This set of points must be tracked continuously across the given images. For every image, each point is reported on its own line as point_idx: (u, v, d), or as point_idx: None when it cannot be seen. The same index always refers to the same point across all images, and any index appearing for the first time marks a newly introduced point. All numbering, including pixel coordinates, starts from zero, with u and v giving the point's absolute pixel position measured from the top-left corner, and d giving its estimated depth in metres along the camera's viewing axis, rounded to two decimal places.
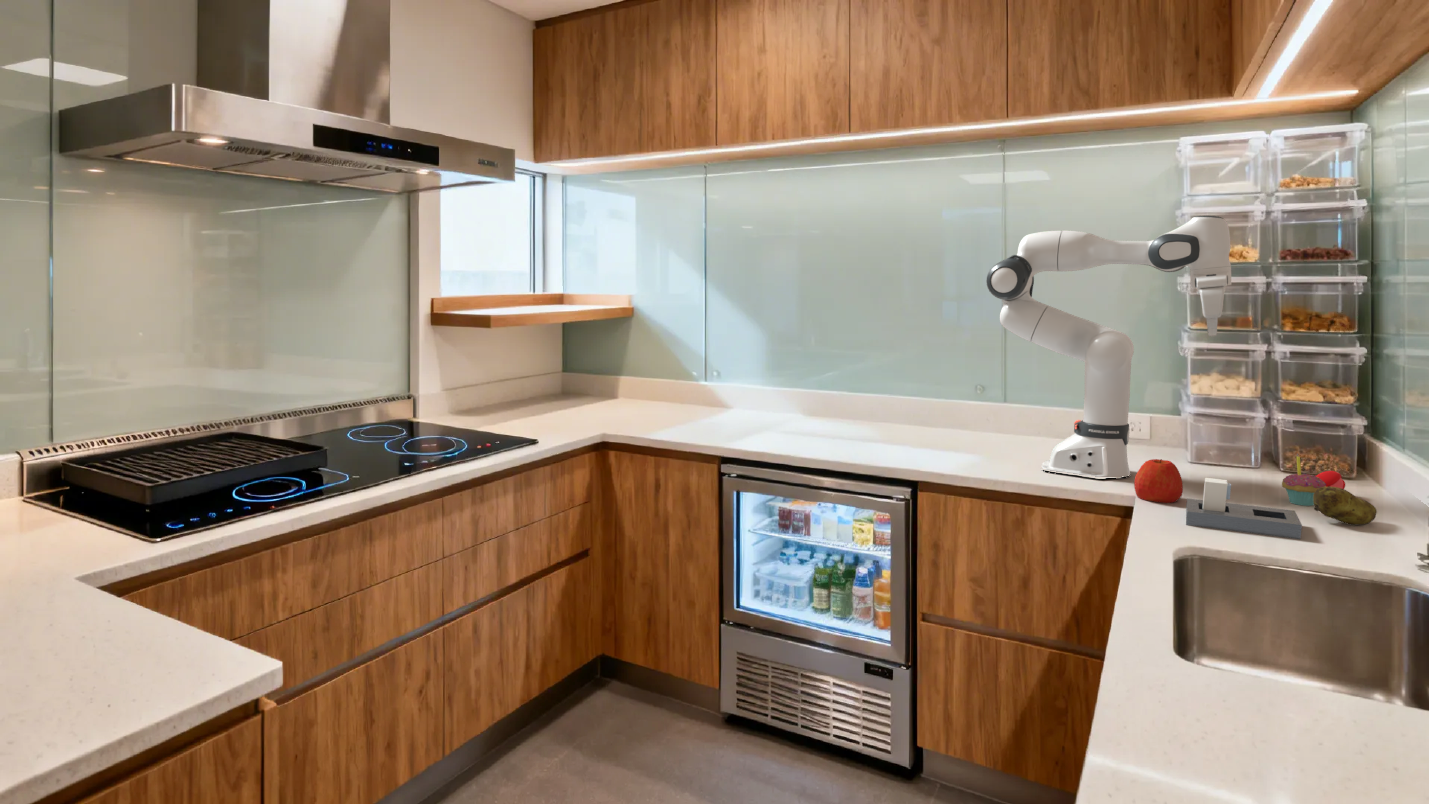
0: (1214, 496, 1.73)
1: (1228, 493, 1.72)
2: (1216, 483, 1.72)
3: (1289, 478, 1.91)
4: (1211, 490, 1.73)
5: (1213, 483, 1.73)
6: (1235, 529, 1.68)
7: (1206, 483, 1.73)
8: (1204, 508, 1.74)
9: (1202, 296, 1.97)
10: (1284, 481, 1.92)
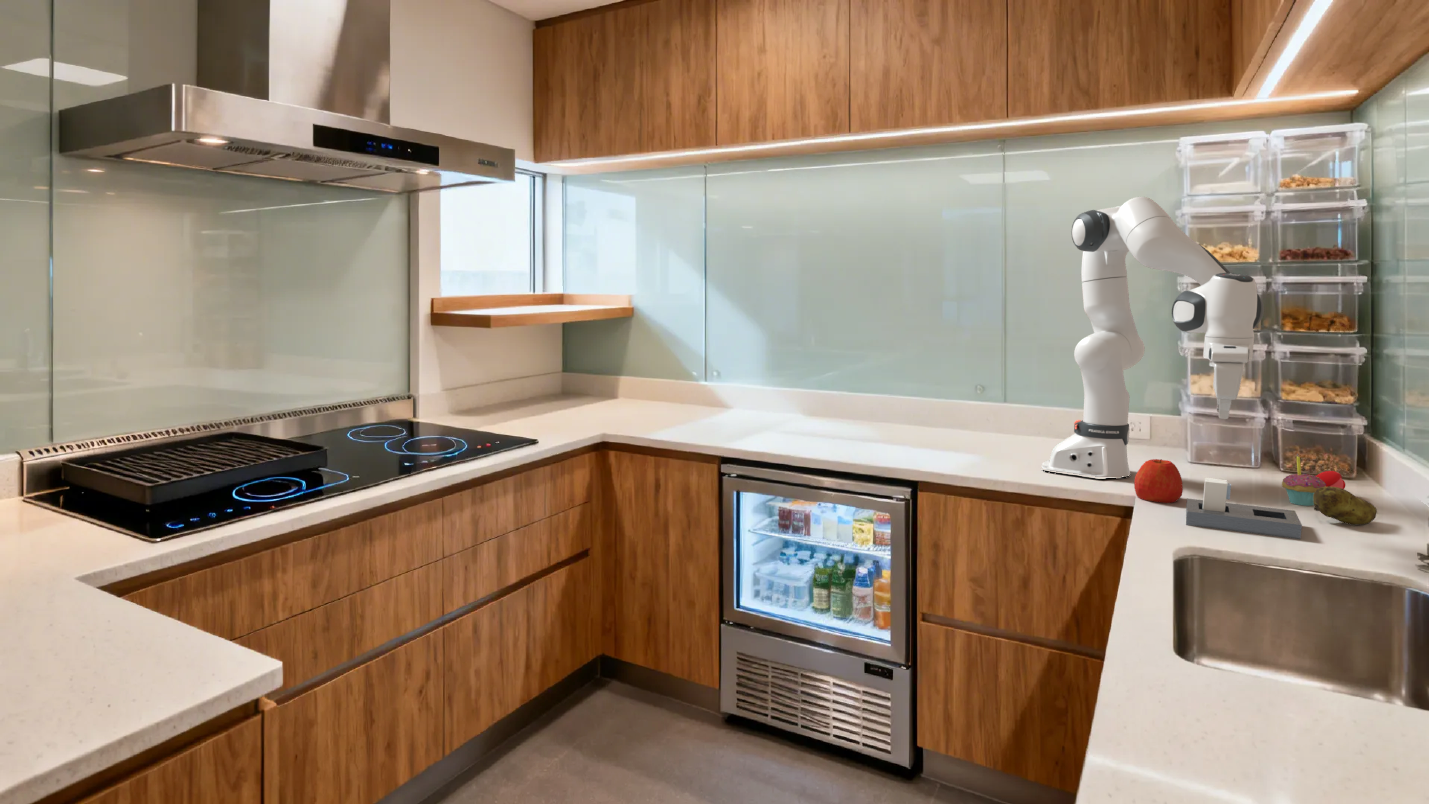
0: (1214, 496, 1.73)
1: (1228, 493, 1.72)
2: (1216, 483, 1.72)
3: (1289, 478, 1.91)
4: (1211, 490, 1.73)
5: (1213, 483, 1.73)
6: (1235, 529, 1.68)
7: (1206, 483, 1.73)
8: (1204, 508, 1.74)
9: (1216, 372, 1.63)
10: (1284, 481, 1.92)
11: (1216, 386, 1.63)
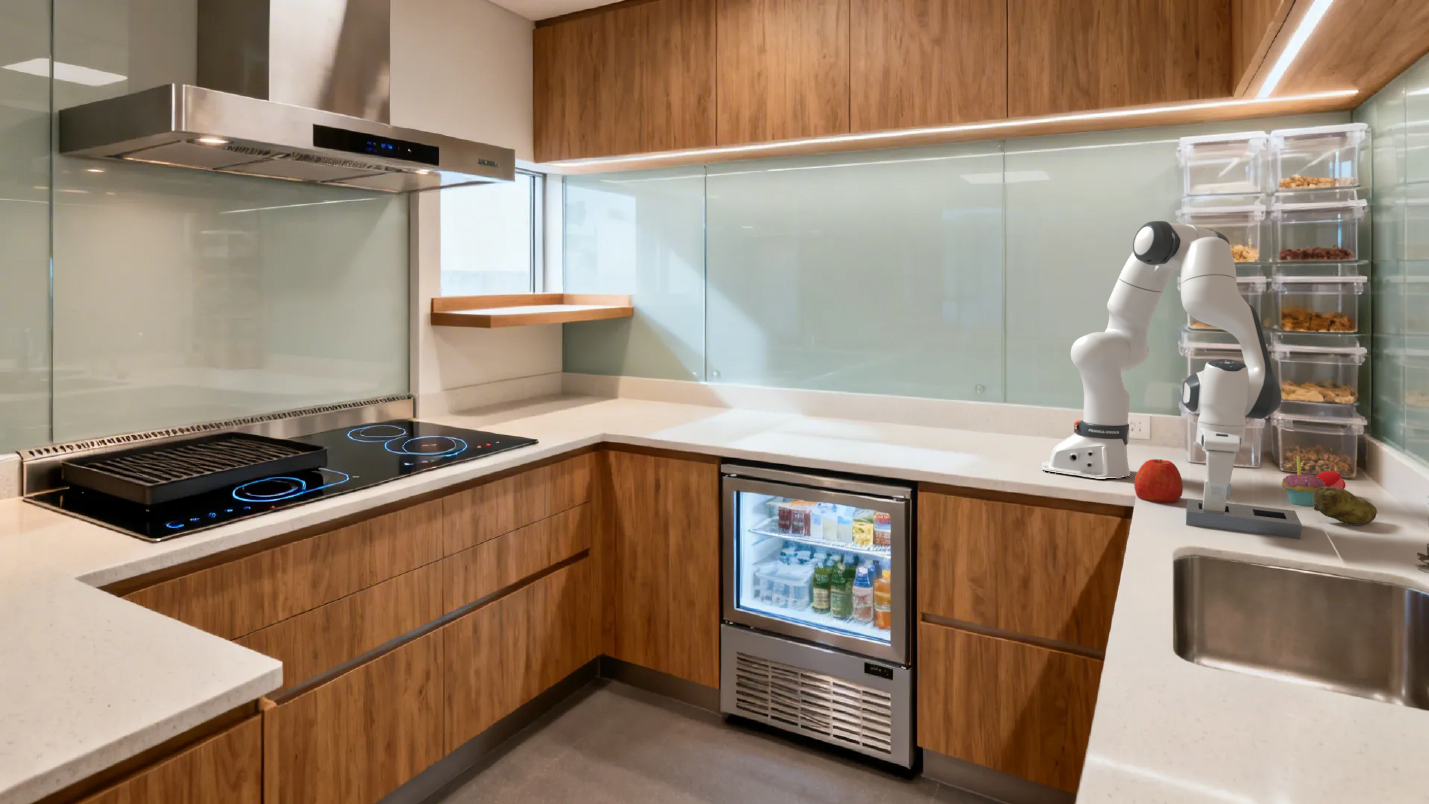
0: None
1: (1228, 492, 1.72)
2: None
3: (1289, 478, 1.91)
4: None
5: None
6: (1235, 529, 1.68)
7: (1206, 483, 1.73)
8: (1204, 508, 1.74)
9: (1208, 460, 1.66)
10: (1284, 481, 1.92)
11: (1208, 474, 1.66)
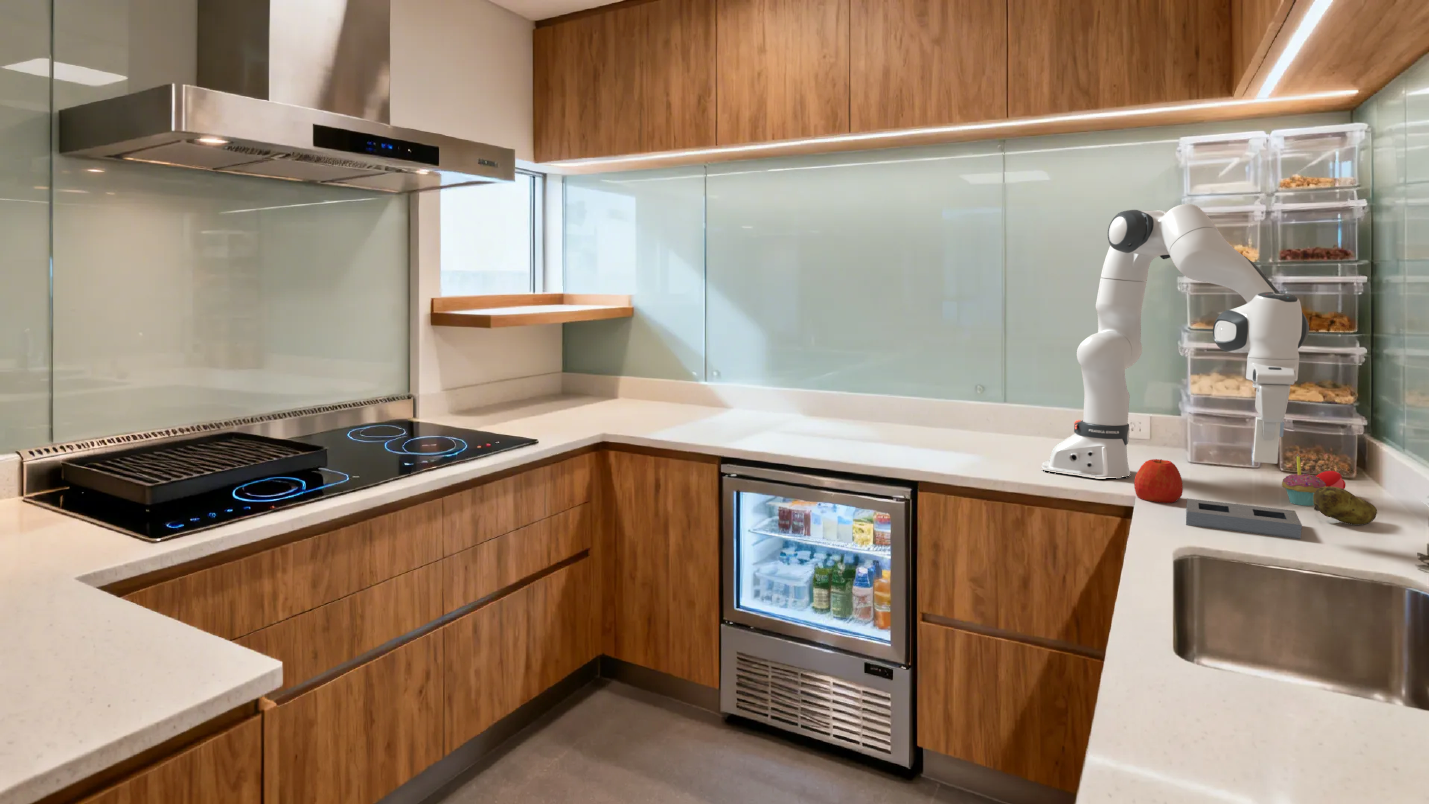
0: None
1: (1281, 430, 1.66)
2: None
3: (1289, 478, 1.91)
4: None
5: None
6: (1235, 529, 1.68)
7: (1258, 421, 1.67)
8: (1256, 447, 1.68)
9: (1262, 394, 1.60)
10: (1284, 481, 1.92)
11: (1262, 409, 1.60)
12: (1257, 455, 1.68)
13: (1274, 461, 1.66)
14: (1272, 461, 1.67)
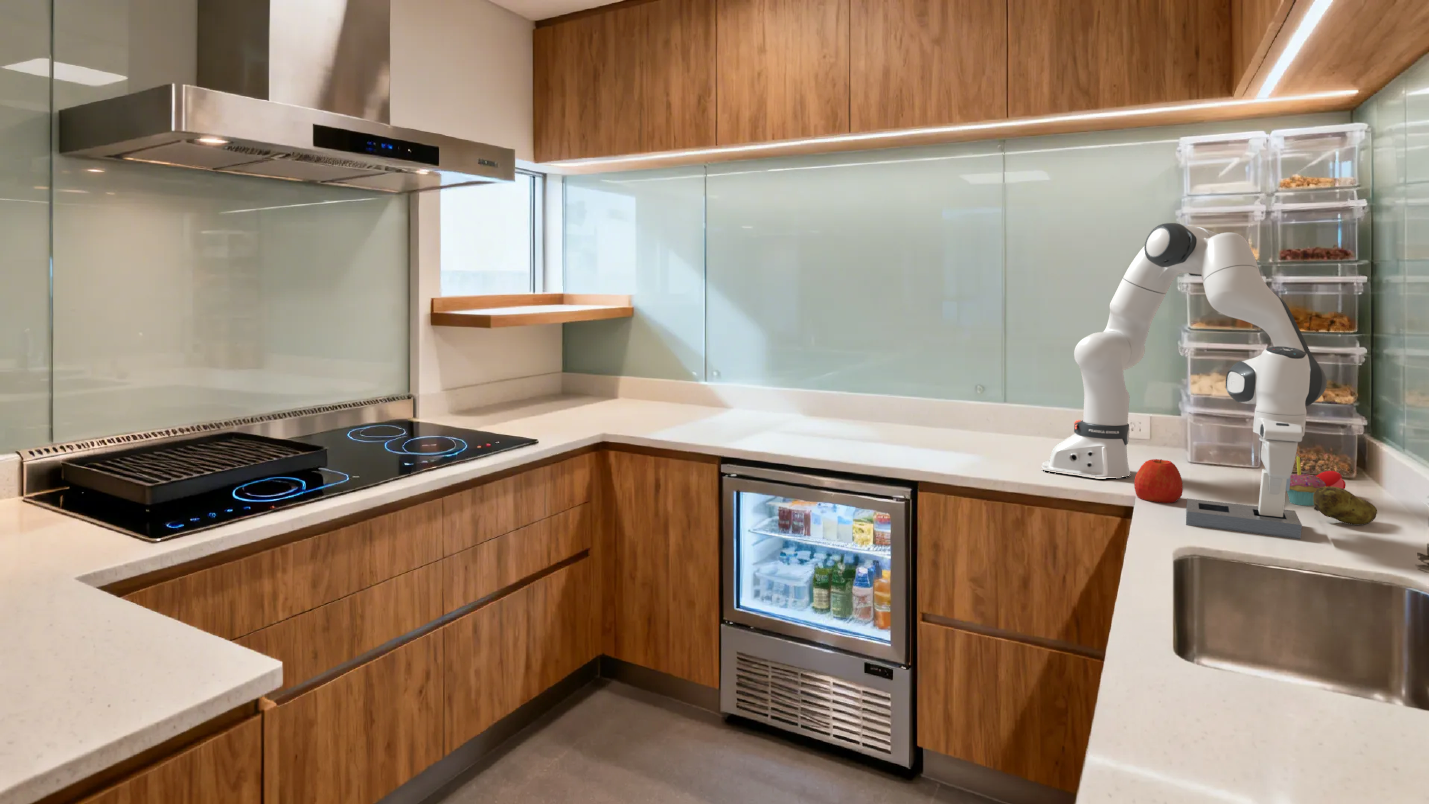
0: None
1: (1287, 484, 1.67)
2: None
3: None
4: None
5: None
6: (1235, 529, 1.68)
7: (1264, 474, 1.68)
8: (1262, 500, 1.69)
9: (1269, 450, 1.61)
10: None
11: (1269, 465, 1.61)
12: (1263, 508, 1.69)
13: (1280, 515, 1.67)
14: (1278, 514, 1.68)
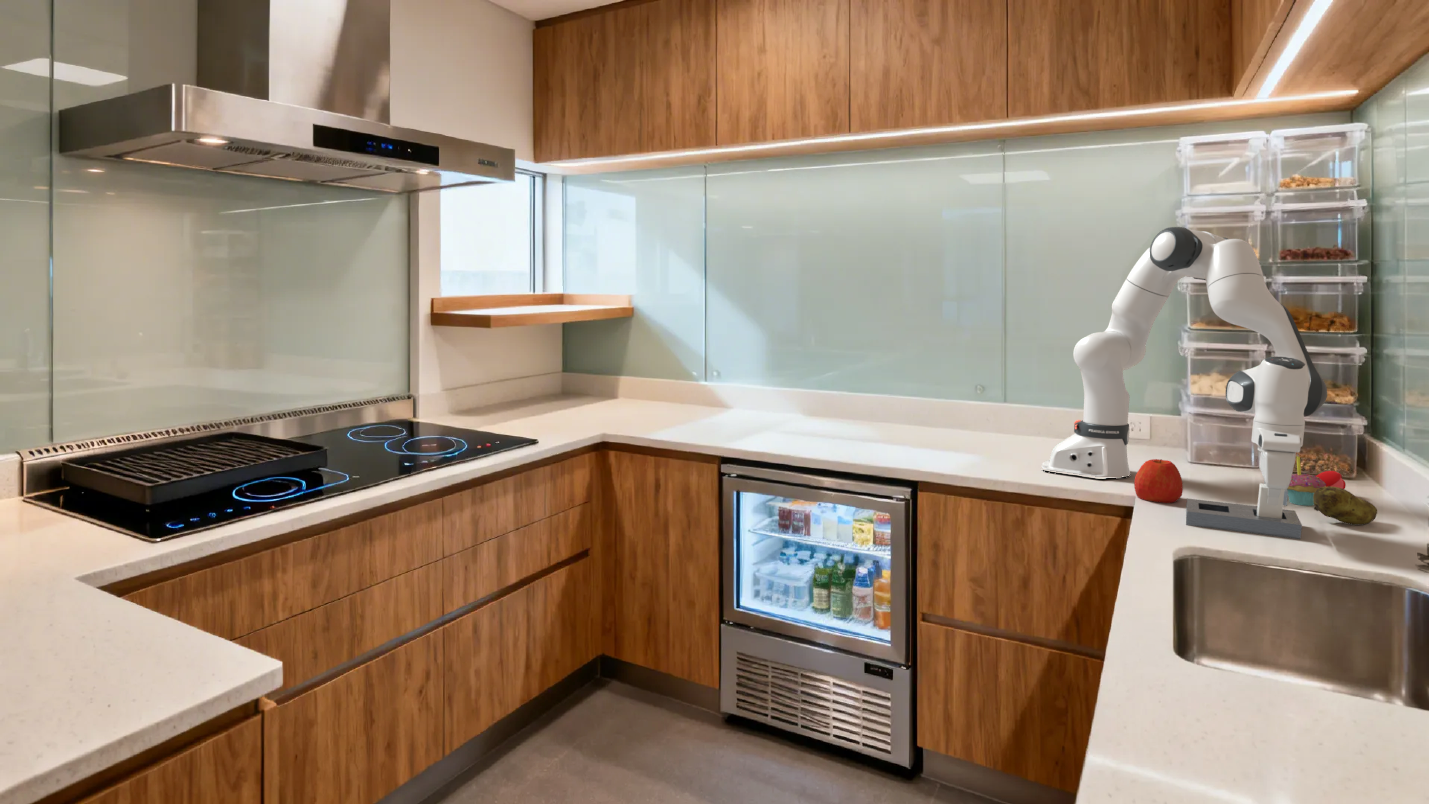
0: None
1: (1284, 499, 1.67)
2: None
3: None
4: None
5: None
6: (1235, 529, 1.68)
7: (1262, 489, 1.68)
8: (1260, 514, 1.69)
9: (1267, 461, 1.61)
10: None
11: (1267, 475, 1.61)
12: None
13: None
14: None
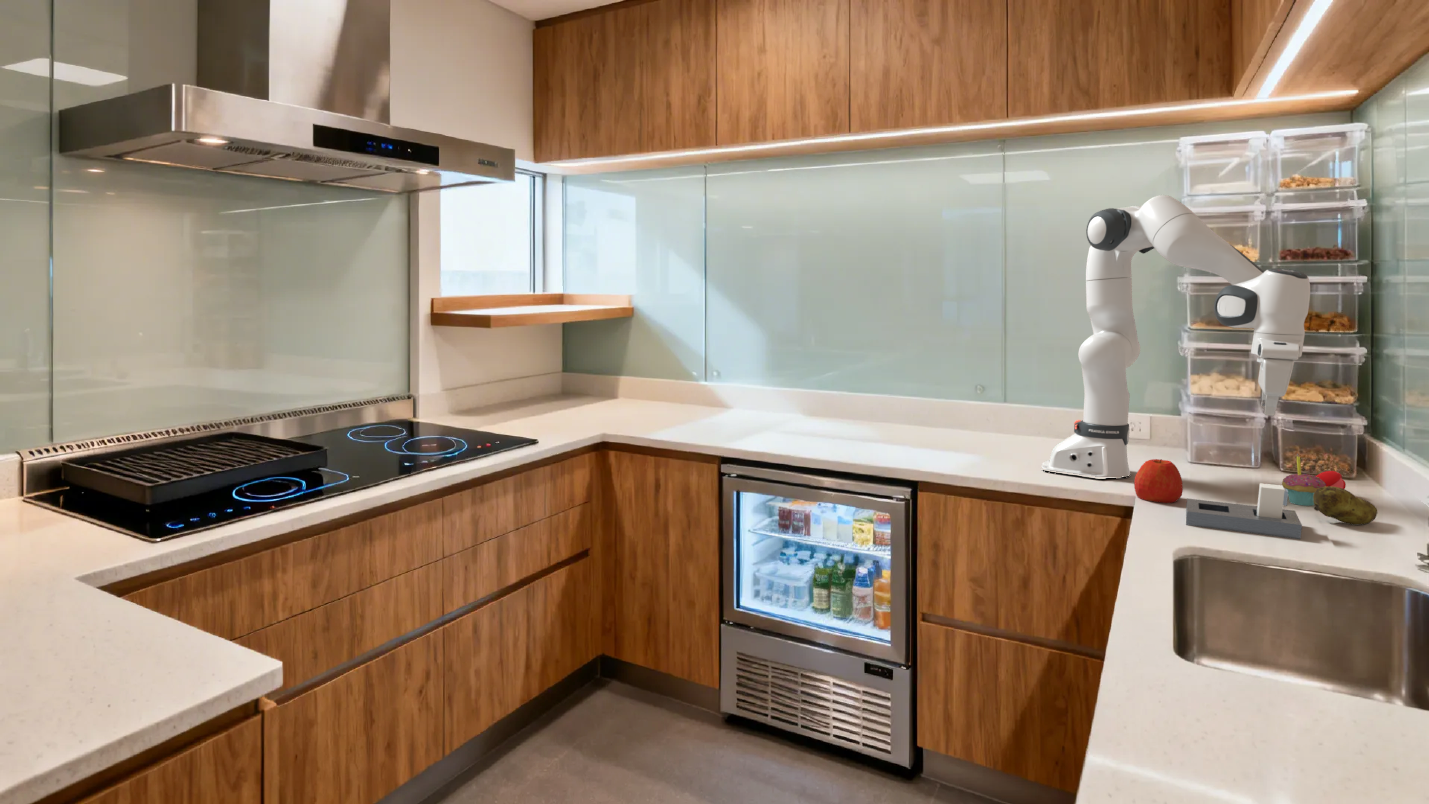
0: (1270, 502, 1.68)
1: (1284, 499, 1.67)
2: (1272, 489, 1.68)
3: (1289, 478, 1.91)
4: (1267, 496, 1.68)
5: (1269, 489, 1.68)
6: (1235, 529, 1.68)
7: (1262, 489, 1.68)
8: (1260, 514, 1.69)
9: (1265, 368, 1.63)
10: (1284, 481, 1.92)
11: (1264, 382, 1.63)
12: None
13: None
14: None
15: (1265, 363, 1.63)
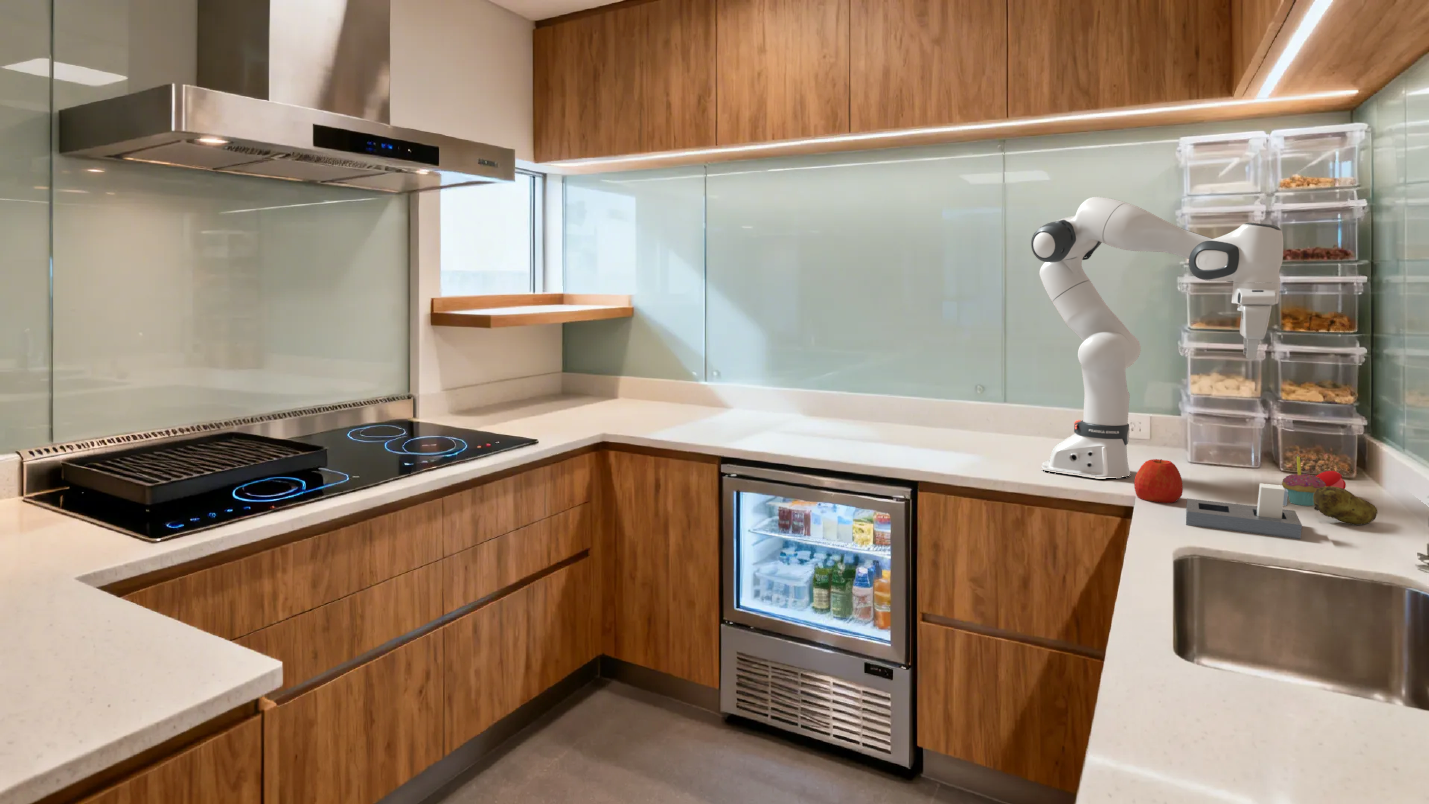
0: (1270, 502, 1.68)
1: (1284, 499, 1.67)
2: (1272, 489, 1.68)
3: (1289, 478, 1.91)
4: (1267, 496, 1.68)
5: (1269, 489, 1.68)
6: (1235, 529, 1.68)
7: (1262, 489, 1.68)
8: (1260, 514, 1.69)
9: (1245, 314, 1.75)
10: (1284, 481, 1.92)
11: (1245, 327, 1.75)
12: None
13: None
14: None
15: (1245, 309, 1.75)
